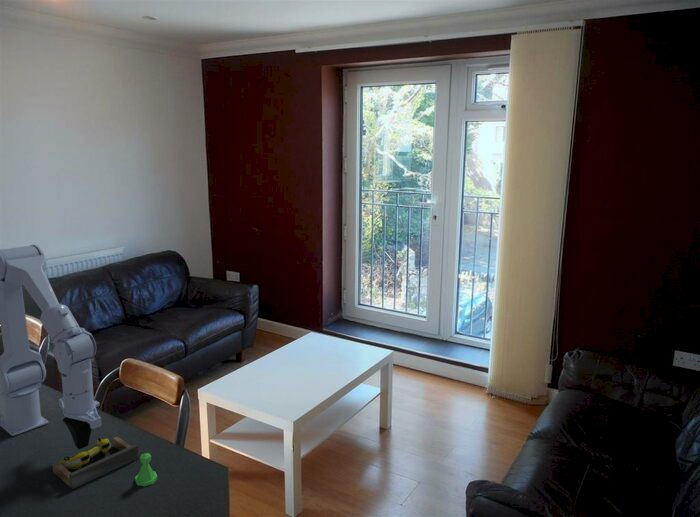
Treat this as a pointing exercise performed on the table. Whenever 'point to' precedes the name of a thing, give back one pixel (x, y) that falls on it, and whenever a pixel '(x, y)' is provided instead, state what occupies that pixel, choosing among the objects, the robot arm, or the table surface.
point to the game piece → (145, 472)
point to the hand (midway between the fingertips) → (82, 446)
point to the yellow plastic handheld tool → (86, 455)
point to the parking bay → (98, 465)
